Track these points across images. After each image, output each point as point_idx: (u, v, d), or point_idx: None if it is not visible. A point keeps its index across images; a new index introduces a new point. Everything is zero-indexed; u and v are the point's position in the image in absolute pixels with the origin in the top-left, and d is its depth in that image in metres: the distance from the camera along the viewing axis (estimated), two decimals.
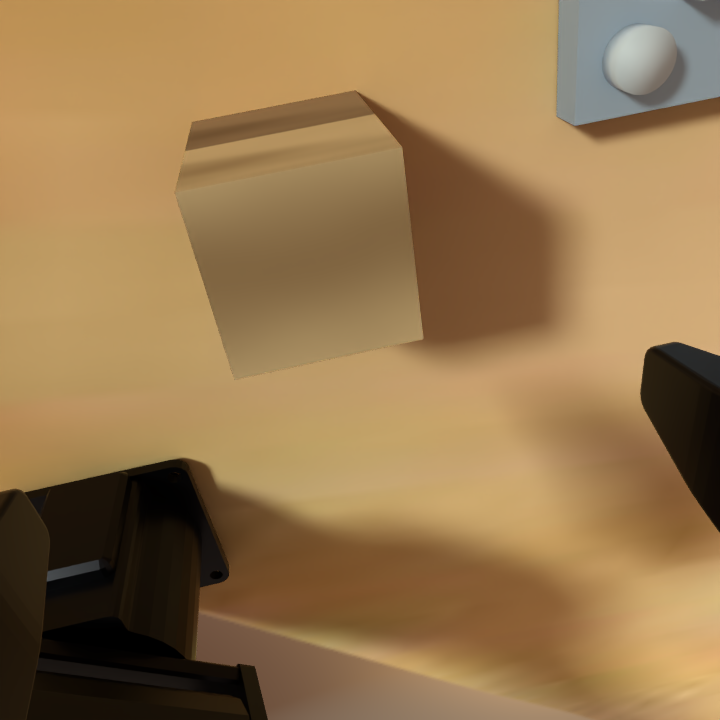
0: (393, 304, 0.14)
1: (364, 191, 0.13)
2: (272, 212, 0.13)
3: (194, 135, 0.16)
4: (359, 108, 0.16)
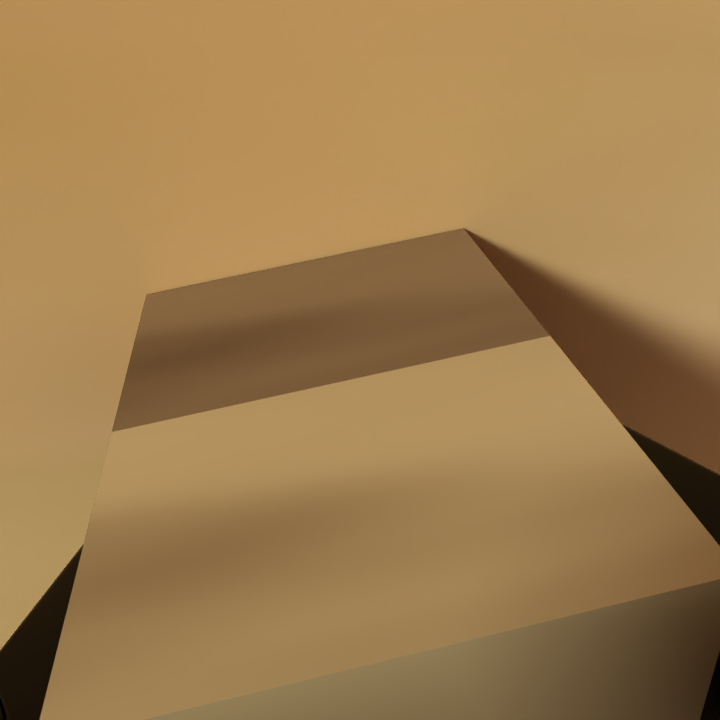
0: None
1: (602, 667, 0.04)
2: None
3: (143, 355, 0.07)
4: (499, 302, 0.07)
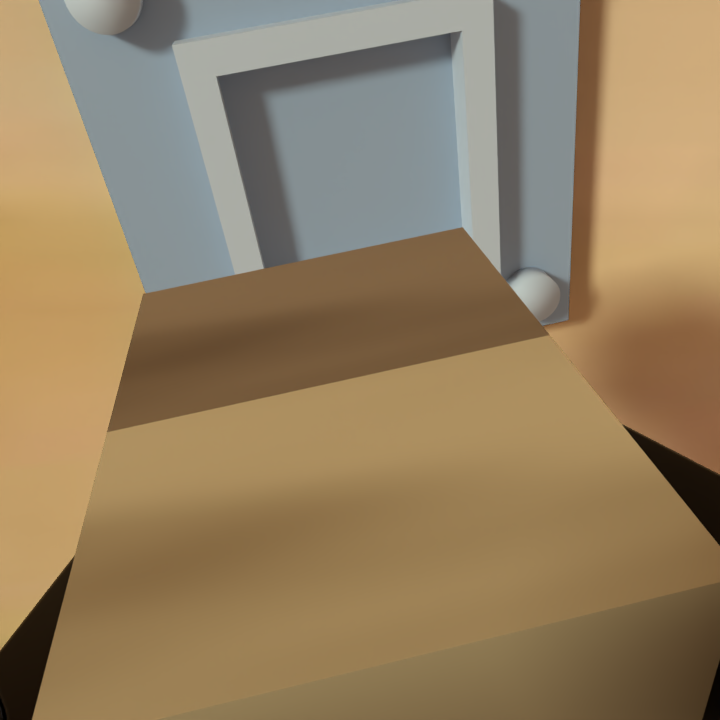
0: None
1: (603, 670, 0.04)
2: None
3: (139, 355, 0.07)
4: (498, 301, 0.07)
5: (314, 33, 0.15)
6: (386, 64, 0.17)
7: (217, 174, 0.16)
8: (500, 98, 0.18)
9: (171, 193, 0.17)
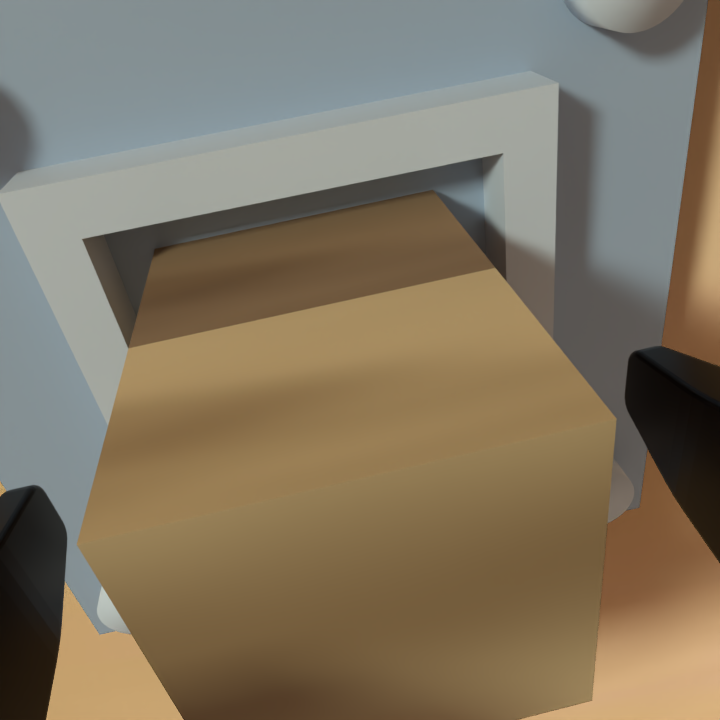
0: (546, 663, 0.07)
1: (517, 502, 0.06)
2: (308, 555, 0.06)
3: (153, 293, 0.09)
4: (456, 244, 0.09)
5: (248, 166, 0.09)
6: (376, 194, 0.10)
7: (100, 377, 0.10)
8: (558, 235, 0.11)
9: (42, 386, 0.11)
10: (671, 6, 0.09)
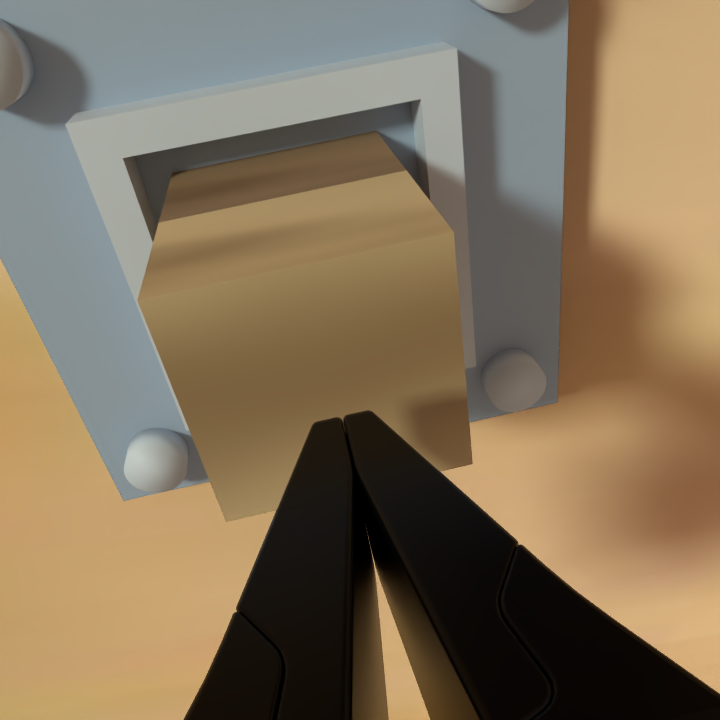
0: (435, 425, 0.11)
1: (399, 289, 0.09)
2: (274, 320, 0.09)
3: (172, 196, 0.12)
4: (384, 160, 0.12)
5: (239, 106, 0.12)
6: (334, 133, 0.14)
7: (133, 266, 0.14)
8: (472, 168, 0.15)
9: (86, 281, 0.15)
10: None
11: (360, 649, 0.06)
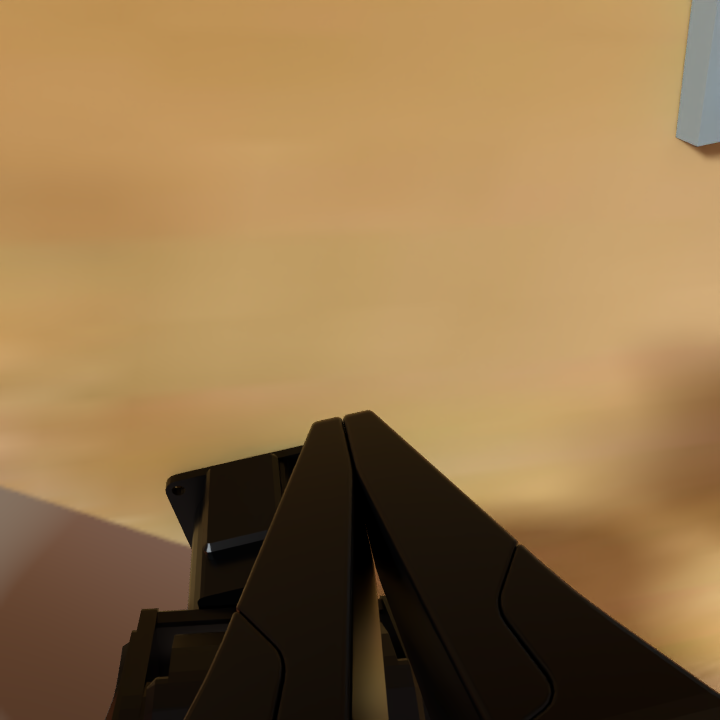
0: None
1: None
2: None
3: None
4: None
5: None
6: None
7: None
8: None
9: None
10: None
11: (360, 649, 0.06)
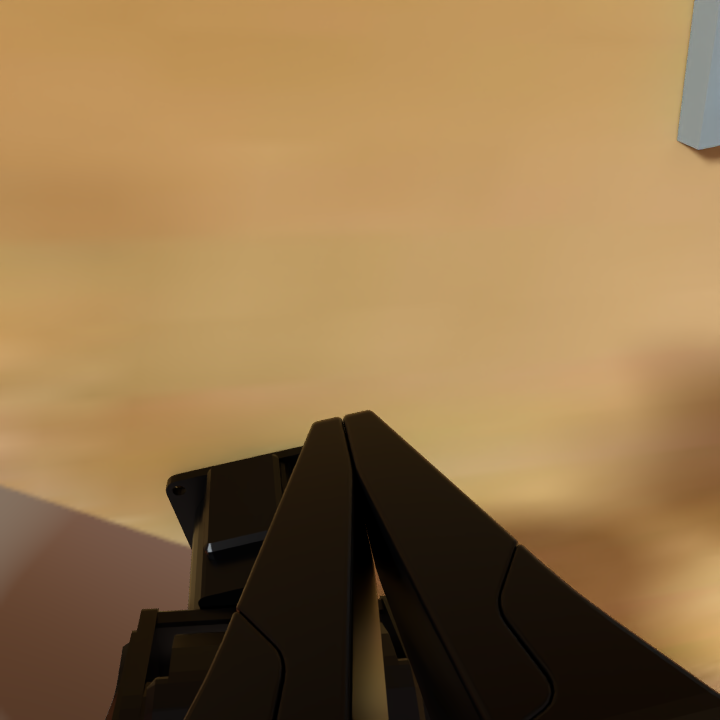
0: None
1: None
2: None
3: None
4: None
5: None
6: None
7: None
8: None
9: None
10: None
11: (360, 649, 0.06)
